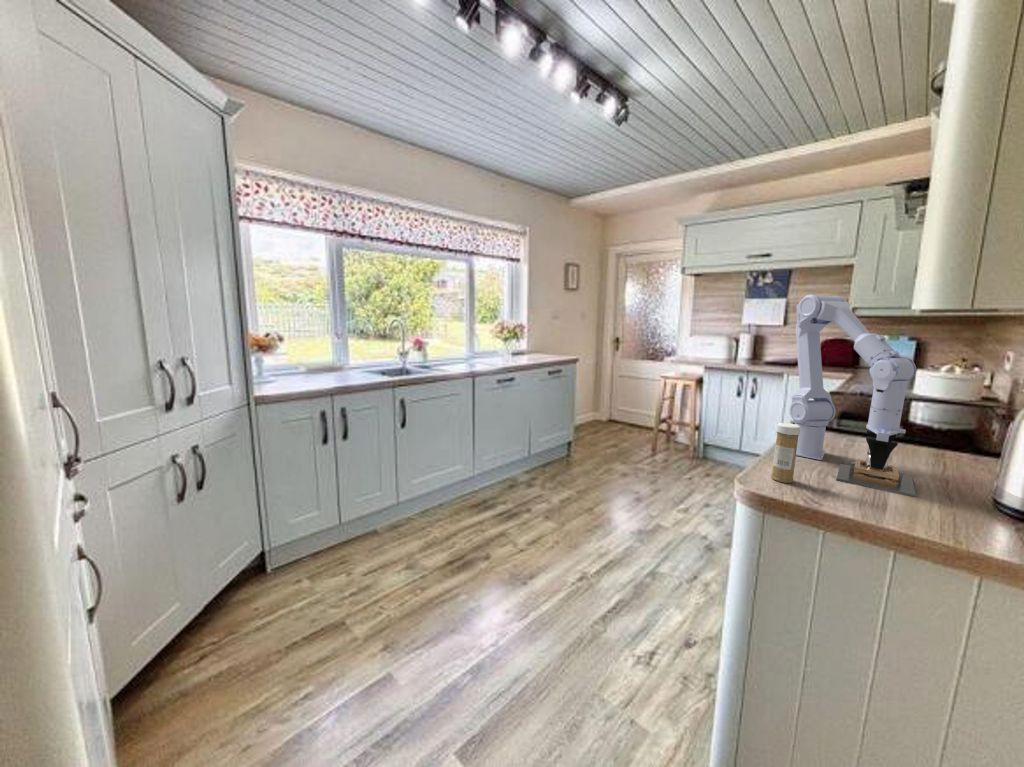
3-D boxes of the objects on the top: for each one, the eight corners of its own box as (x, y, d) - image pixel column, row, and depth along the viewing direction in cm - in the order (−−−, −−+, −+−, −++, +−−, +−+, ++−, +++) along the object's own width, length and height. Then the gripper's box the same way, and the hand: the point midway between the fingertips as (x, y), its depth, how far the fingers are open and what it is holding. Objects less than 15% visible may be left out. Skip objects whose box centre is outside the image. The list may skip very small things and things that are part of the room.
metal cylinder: (863, 473, 109) (867, 446, 108) (884, 477, 106) (889, 449, 105) (863, 478, 106) (868, 449, 104) (885, 482, 103) (890, 453, 102)
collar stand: (839, 465, 116) (841, 453, 115) (911, 479, 107) (913, 466, 107) (836, 480, 105) (838, 467, 104) (915, 497, 96) (917, 483, 96)
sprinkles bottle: (796, 481, 104) (804, 425, 101) (787, 485, 101) (794, 428, 99) (776, 474, 107) (783, 421, 105) (766, 478, 105) (773, 423, 103)
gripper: (910, 416, 95) (900, 476, 97) (907, 406, 106) (897, 460, 108) (869, 411, 99) (859, 468, 102) (869, 402, 111) (861, 454, 113)
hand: (876, 464), depth 105 cm, fingers open, 7 cm apart
